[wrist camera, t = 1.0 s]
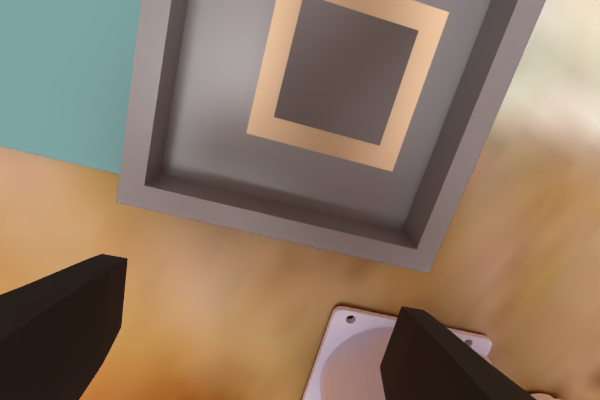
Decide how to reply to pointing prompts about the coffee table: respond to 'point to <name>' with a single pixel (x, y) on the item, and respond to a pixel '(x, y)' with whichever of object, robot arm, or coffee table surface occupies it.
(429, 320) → the robot arm
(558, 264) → the coffee table surface
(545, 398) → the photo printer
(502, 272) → the coffee table surface
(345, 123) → the maple block
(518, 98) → the coffee table surface
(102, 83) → the teal board
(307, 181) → the parts bin
